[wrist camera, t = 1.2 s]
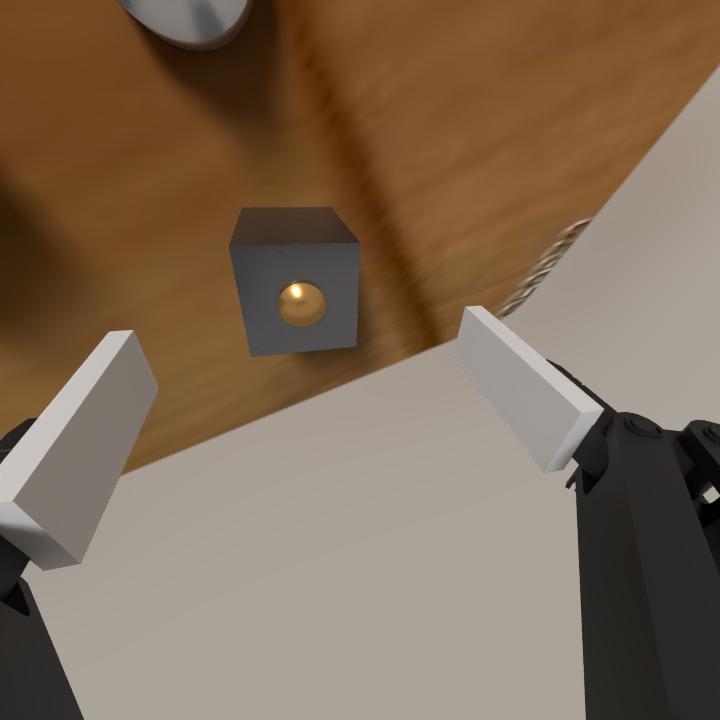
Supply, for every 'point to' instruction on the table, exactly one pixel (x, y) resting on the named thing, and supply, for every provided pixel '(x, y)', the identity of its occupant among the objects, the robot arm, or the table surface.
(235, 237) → the cube with brass button
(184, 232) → the table surface
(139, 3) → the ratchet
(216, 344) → the table surface
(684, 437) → the robot arm
